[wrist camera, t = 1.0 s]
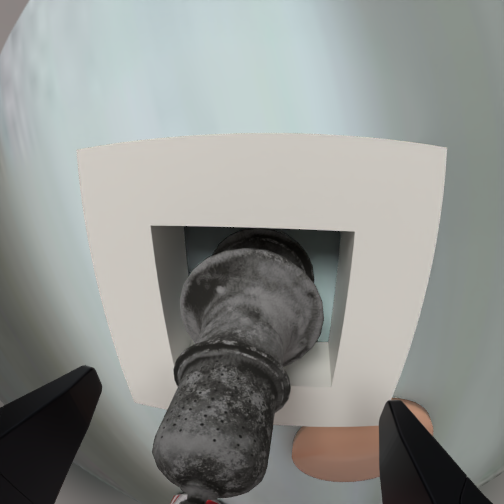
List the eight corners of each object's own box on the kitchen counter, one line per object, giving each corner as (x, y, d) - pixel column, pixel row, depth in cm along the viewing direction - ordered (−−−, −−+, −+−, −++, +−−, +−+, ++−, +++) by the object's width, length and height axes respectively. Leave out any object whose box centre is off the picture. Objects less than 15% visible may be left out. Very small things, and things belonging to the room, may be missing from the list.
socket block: (414, 142, 12) (446, 147, 9) (372, 382, 17) (380, 425, 14) (119, 142, 14) (76, 149, 11) (155, 365, 19) (134, 402, 16)
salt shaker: (317, 327, 16) (314, 556, 5) (210, 324, 17) (122, 523, 6) (321, 220, 14) (358, 481, 3) (196, 222, 15) (19, 412, 4)
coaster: (451, 391, 17) (455, 401, 16) (404, 468, 21) (405, 476, 20) (299, 397, 18) (298, 409, 18) (287, 472, 23) (287, 481, 22)
